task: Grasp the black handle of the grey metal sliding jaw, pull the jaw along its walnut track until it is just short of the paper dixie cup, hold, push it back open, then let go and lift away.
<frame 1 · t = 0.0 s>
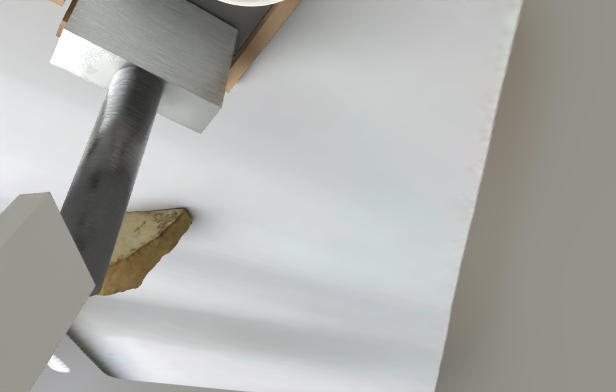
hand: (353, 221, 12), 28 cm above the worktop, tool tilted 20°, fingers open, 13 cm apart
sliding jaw: (126, 118, 34), point 11 cm above the worktop, slide at 0.0 cm
rock: (146, 218, 63), on the worktop
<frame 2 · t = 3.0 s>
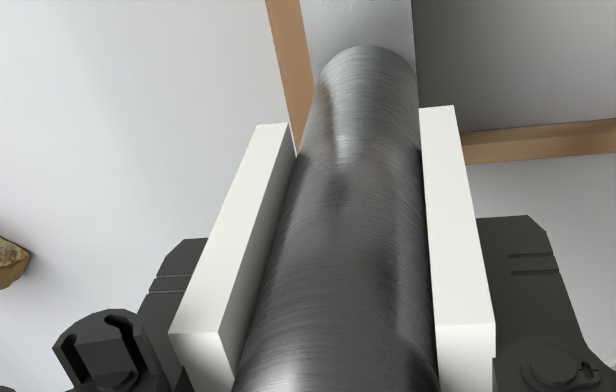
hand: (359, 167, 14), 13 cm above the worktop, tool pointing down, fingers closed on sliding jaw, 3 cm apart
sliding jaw: (362, 139, 15), point 11 cm above the worktop, slide at 0.0 cm, touching gripper
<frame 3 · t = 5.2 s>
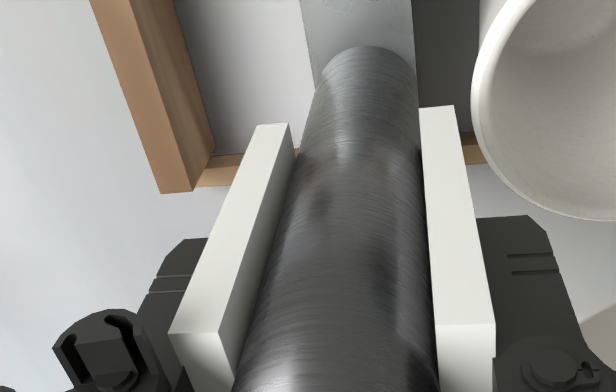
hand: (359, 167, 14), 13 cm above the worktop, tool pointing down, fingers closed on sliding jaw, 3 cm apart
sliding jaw: (362, 140, 15), point 11 cm above the worktop, slide at 6.5 cm, touching gripper
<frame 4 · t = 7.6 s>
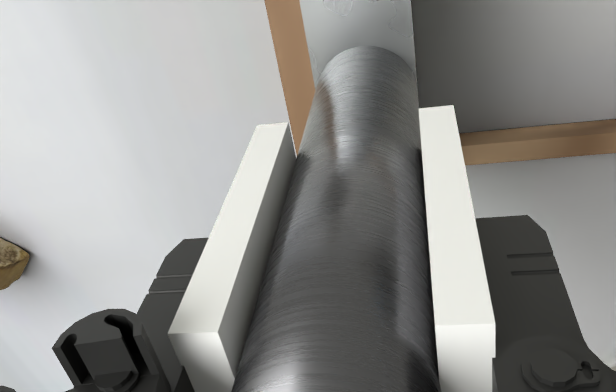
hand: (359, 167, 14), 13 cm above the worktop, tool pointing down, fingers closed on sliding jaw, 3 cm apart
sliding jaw: (362, 140, 15), point 11 cm above the worktop, slide at 0.0 cm, touching gripper
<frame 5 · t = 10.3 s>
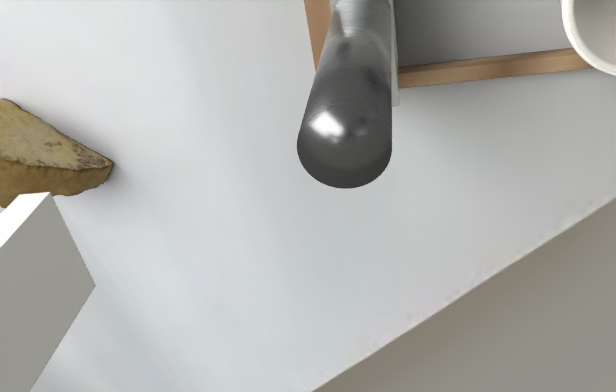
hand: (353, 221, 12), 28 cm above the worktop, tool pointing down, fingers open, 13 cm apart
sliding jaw: (359, 37, 27), point 11 cm above the worktop, slide at 0.0 cm
rock: (48, 141, 47), on the worktop
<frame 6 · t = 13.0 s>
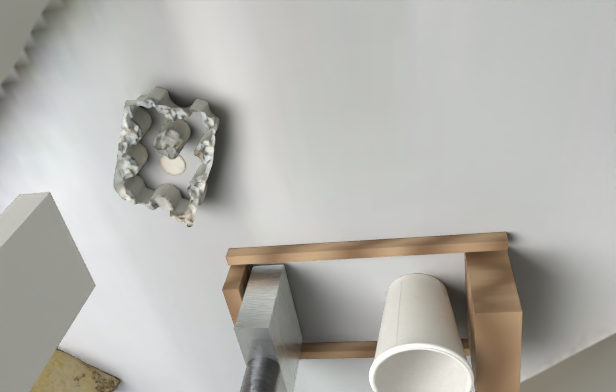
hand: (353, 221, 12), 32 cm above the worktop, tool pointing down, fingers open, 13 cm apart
egg carton: (174, 144, 50), on the worktop
dixie cup: (417, 294, 55), resting in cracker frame
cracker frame: (395, 297, 56), on the worktop
rock: (75, 365, 68), on the worktop
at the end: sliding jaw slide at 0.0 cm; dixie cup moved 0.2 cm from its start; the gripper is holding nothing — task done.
